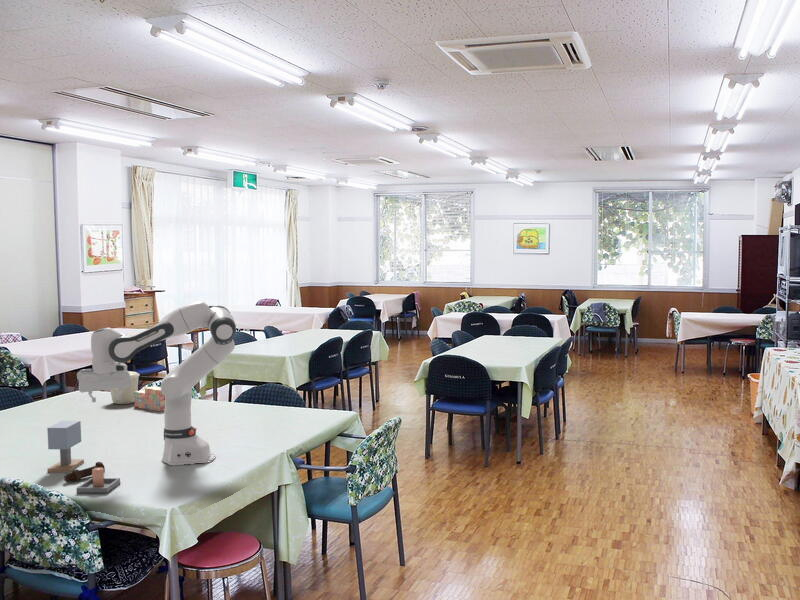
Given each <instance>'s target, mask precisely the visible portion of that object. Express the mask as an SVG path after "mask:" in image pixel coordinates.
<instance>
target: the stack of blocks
mask: <svg viewBox="0 0 800 600" xmlns="http://www.w3.org/2000/svg"><path fill="white" fill-rule="evenodd" d="M165 399H166V397H165V396H164V395H163V394H162V392H161V386H148V387H145V388H144V389H141V390H138V391H136V392H134V402H133V403H134V408H137V407H138V408H139V409H144V410H151V411H158V412H164V408H165Z"/></svg>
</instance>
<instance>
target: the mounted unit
mask: <svg viewBox="0 0 800 600" xmlns="http://www.w3.org/2000/svg"><path fill="white" fill-rule="evenodd" d="M81 424H82V423H81V420H61V421H58V422H57V423H55V424H53V425H50V426H49V427H46V429H47V445H48V446H47V447H48V450H59V457H60V461H58V462H56V463H55V464H53V465H51V466H50V467H48V468H46V469H47V473H71V472H72V471H73V469H74V468H75V469H77V468H78V467H80V466H81V465H83V464H84V463H85V460H84V459H78V458H77V459H72V453H71V452H72V450H71V449H72V447H74V446H76V445H78V444H79V443H81V442H82V429H81V428H82V425H81ZM82 463H83V464H82ZM79 465H80V466H79ZM76 467H77V468H76ZM75 469H74V470H75ZM71 470H72V471H71Z"/></svg>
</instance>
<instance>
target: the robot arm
mask: <svg viewBox="0 0 800 600" xmlns="http://www.w3.org/2000/svg"><path fill="white" fill-rule="evenodd" d="M199 328H208V331H210V335H211V336H210V338H209V339H208V340H206V342H204V343H203V344H202V345H200V346H199V347H198V348H197V349H196V350H195V351H194V352H192V353H191V354H190V355H189V356H188V357H187V358H185V359H184V360H183V361H181V362H180V364H178V365H177V366H176V367H175V368H174V369H172V370H170V372H169V373H167V374H166V375H165V376H164V377H163V379H162V380H161V382H160V387H161V392H162V394H163V395H164V396H165V397H166V399H165V408H164V410H163V413H164V415H163V416H164V417H163V419H164V428H163V440H164V446H163V447H164V449H163V454H162V458H161V462H162V463H165V464H168V466H171V465H172V466H185V465H184V464H191V465H195V464H194V463H206V462H208V461H211V460H212V459H213V458H214V457H215V455H216V453H215V452H211V448H210V444H209V442H208V441H206V440H205V439H203V438H201V437H200V436H198V435H197V430H198V429H197V427H196V426H195V427H194V426H193V425H192V407H191V406H192V392H193V389H192V388H194V387H195V386H196V385H197V384H198V383H199V382H200V381H201V380H203V379H204V378H205V377H206V376H207V375H208V374H210V373H211V372H212V371H213V370H215V368H217V367H218V366H219V365H220V364H221V363H223V362H224V361H225V360H226V359H228V357H229V356H230V354H232V352H233V351H234V349H235V347H236V345H235V344H236V343H235V340H234V339H233V338H234V337H235V335H236V331H237V324H236V323H235V319H234V317H233V316H232V314H231V312H230V310H229V309H228V308H227V307H225V306H223V305H208V304H207V303H205V301H200V300H199V301H195V302H192V303H189V304H186V305H183V306H181V307H178V308H175V309H174V310H173V311H171V312H169V313H168V314H165V316H163V317H162V319H161V320H160V321H159V322H158V323H156V324H155V325H153V326H152V327H150V328H149V329H146V330H144V331H142V332H140V333H137V334H136V335H131V334H128V333H123V332H122V333H121V332H119V331H117V330H115V329H113V328H112V327H102V328H99V329H96V330H94V331H93V332H92V334H91V336H90V337H91V338H90V350H91V353H92V354H91V355H92V359H91V363H92V364H91V366H92V368H86V369H80V370H79V371H77V373H76V378H77V380H78V391H79V392H80V393H82V394H83V393H88V394H87V395H88V396H89V397H90V398H91V403H96V401H97V397H96V396H95V397H94V396H93V392H99V391H108V390H109V391H110V389H119V391H120V392H119V394H118V395H116V398H117V399H120V395H121V393H122V392H123V388H129V387H131V385H132V384H131V377H130V374H129V372H128V371H129V370H128V365H127V364H126V363H127V362H129V361H131V360H132V359H133V358H134V357H135V356H136V355H137V354H138V353H139V352H140V351H142V350H145V349H146V348H148V347H150V346H153V345H154V344H157V343H159V342H161V341H164V340H168V339H173V338H176V337H180V336H183V335H185V334H186V335H187V334H188V333H190V332H192V331H195V330H197V329H199ZM215 458H216V457H215ZM212 461H213V460H212ZM212 461H211V462H212ZM206 464H207V463H206Z"/></svg>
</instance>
